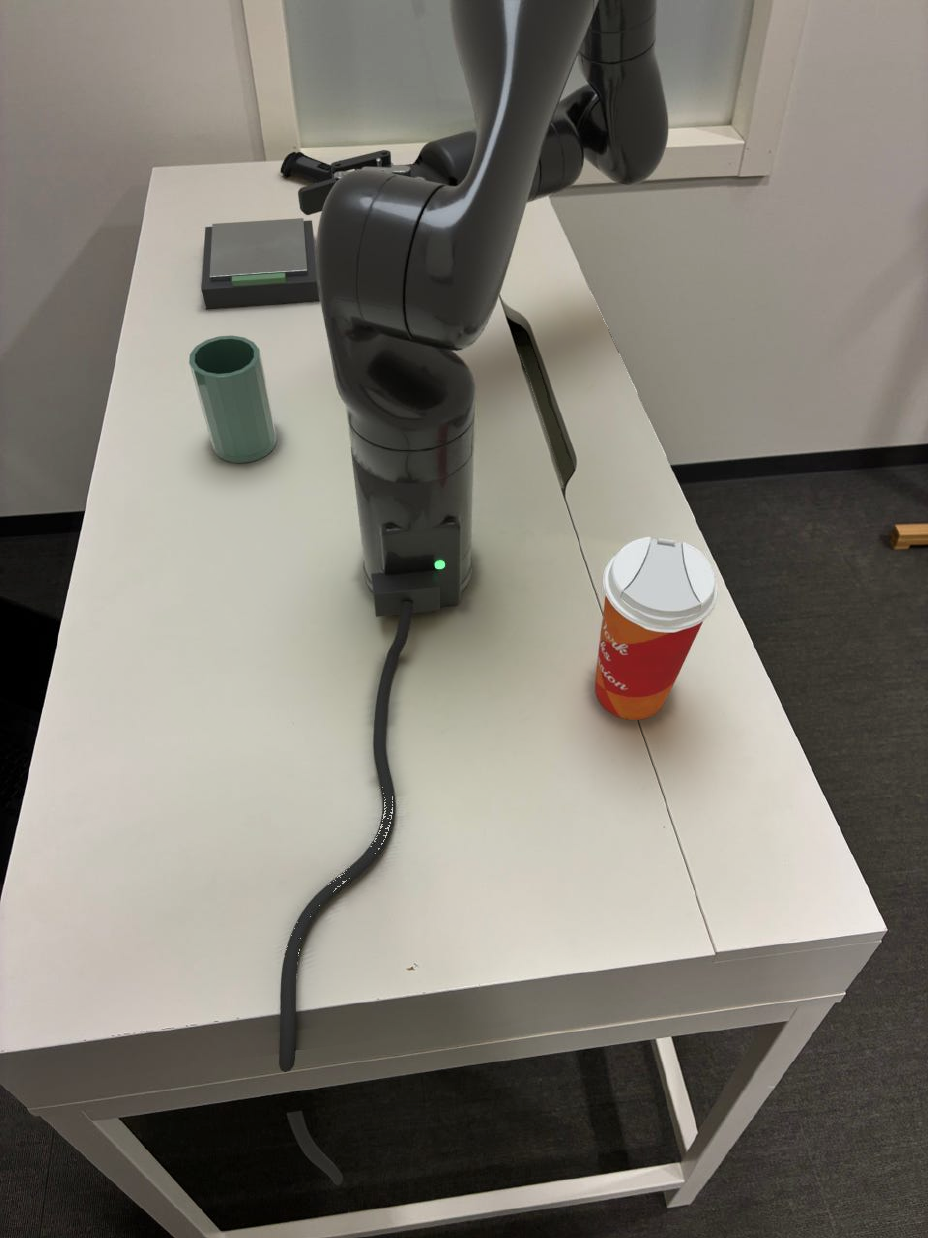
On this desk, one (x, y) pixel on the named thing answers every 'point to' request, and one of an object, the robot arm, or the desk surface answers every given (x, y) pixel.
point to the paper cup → (650, 622)
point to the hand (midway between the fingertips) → (323, 223)
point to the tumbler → (234, 398)
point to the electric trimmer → (306, 168)
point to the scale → (259, 263)
